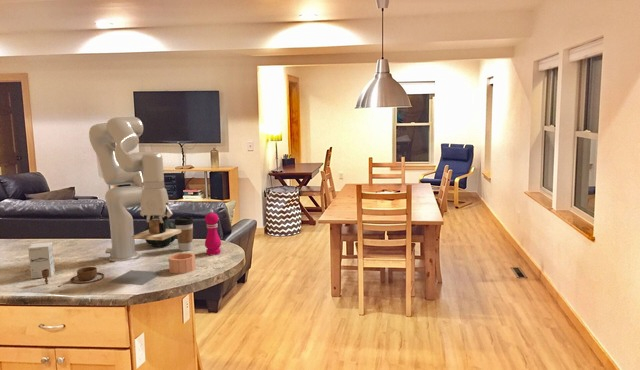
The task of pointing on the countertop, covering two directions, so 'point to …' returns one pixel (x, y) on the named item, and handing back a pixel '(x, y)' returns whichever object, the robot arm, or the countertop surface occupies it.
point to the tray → (136, 277)
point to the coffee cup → (184, 232)
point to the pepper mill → (212, 234)
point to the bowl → (182, 263)
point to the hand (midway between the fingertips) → (157, 231)
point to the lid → (156, 232)
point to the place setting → (79, 275)
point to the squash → (167, 241)
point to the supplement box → (41, 259)
